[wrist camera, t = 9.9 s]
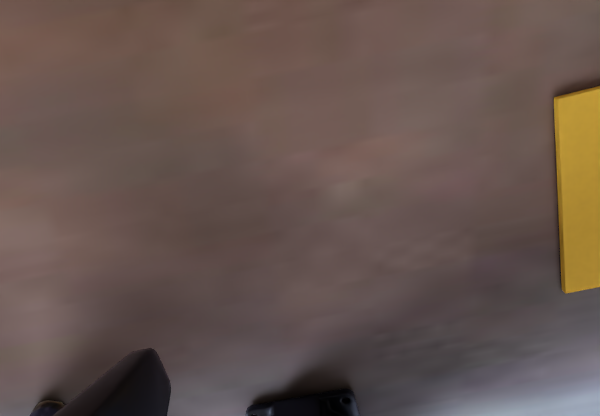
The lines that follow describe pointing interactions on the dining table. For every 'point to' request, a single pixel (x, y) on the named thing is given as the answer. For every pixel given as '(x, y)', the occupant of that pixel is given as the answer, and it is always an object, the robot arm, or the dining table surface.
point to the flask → (47, 408)
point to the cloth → (578, 187)
